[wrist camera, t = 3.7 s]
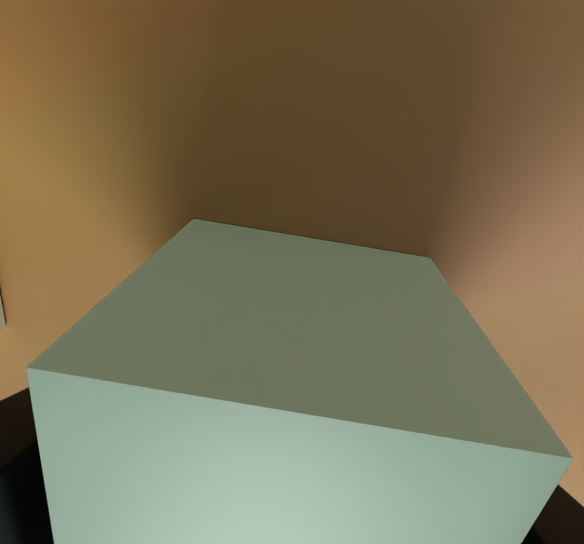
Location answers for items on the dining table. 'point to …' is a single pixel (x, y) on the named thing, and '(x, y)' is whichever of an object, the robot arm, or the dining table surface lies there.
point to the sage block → (286, 404)
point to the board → (1, 317)
